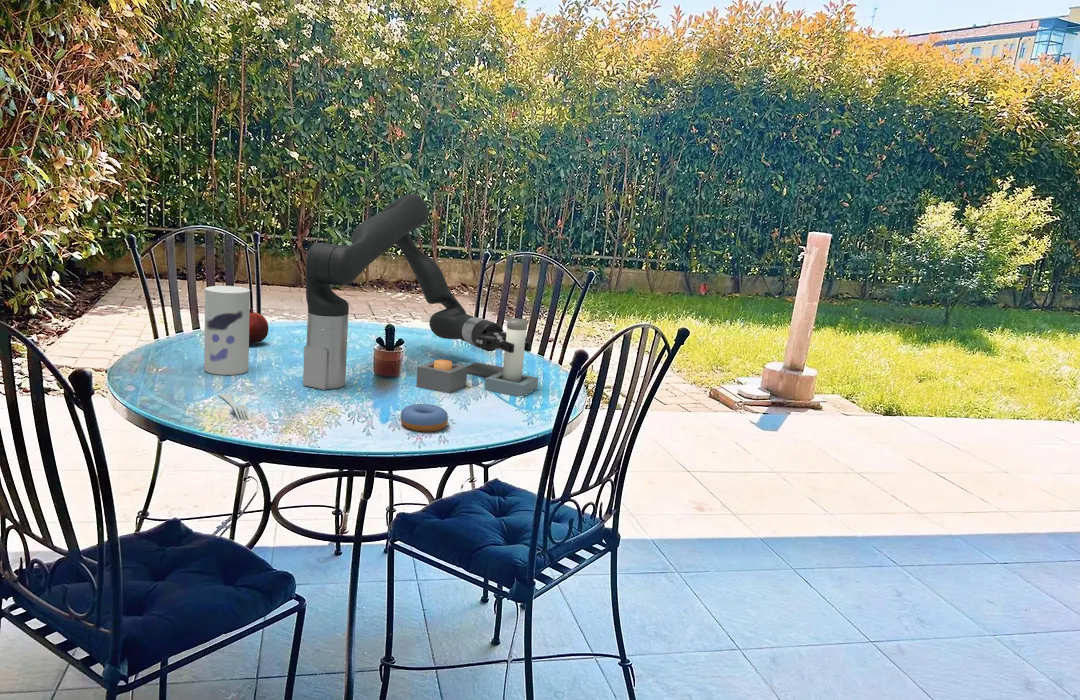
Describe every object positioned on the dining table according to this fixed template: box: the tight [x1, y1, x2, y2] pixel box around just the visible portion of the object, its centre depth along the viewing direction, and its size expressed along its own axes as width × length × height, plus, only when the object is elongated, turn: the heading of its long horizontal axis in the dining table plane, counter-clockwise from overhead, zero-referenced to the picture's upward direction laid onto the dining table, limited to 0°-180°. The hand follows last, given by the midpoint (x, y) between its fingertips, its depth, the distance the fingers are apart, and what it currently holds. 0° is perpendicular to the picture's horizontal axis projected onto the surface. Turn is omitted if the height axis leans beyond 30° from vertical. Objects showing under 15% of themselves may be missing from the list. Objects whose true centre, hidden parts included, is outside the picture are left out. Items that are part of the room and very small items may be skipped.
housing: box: [484, 371, 539, 397], centre depth 209 cm, size 10×10×3 cm
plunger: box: [433, 359, 453, 371], centre depth 206 cm, size 4×4×6 cm
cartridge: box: [502, 317, 528, 383], centre depth 207 cm, size 5×5×16 cm
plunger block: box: [415, 360, 468, 394], centre depth 206 cm, size 9×9×5 cm
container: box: [203, 285, 251, 376], centre depth 200 cm, size 10×10×20 cm
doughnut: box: [399, 403, 449, 433], centre depth 175 cm, size 10×10×5 cm
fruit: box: [249, 308, 269, 345], centre depth 229 cm, size 11×10×10 cm
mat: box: [466, 362, 503, 378], centre depth 225 cm, size 11×11×1 cm
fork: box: [217, 393, 250, 422], centre depth 175 cm, size 3×21×3 cm, turn 32°
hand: (521, 348), depth 205 cm, fingers closed on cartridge, 4 cm apart
